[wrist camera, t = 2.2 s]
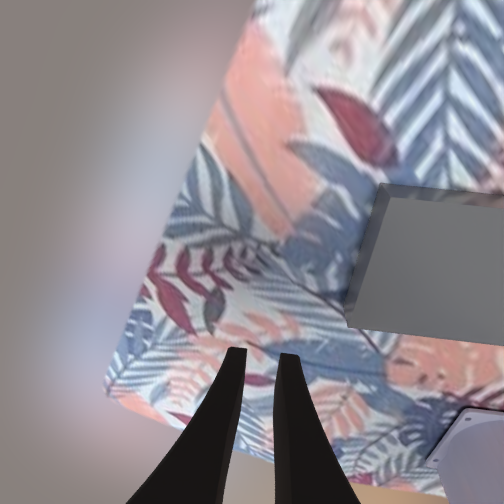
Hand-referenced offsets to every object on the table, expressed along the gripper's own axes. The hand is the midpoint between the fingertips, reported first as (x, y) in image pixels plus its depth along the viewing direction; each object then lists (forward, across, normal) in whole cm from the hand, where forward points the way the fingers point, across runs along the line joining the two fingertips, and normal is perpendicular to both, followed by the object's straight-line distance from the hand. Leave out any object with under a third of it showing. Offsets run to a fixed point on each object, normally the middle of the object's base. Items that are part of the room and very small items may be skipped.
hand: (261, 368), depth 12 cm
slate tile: (+10, -12, 0) cm, 15 cm away
